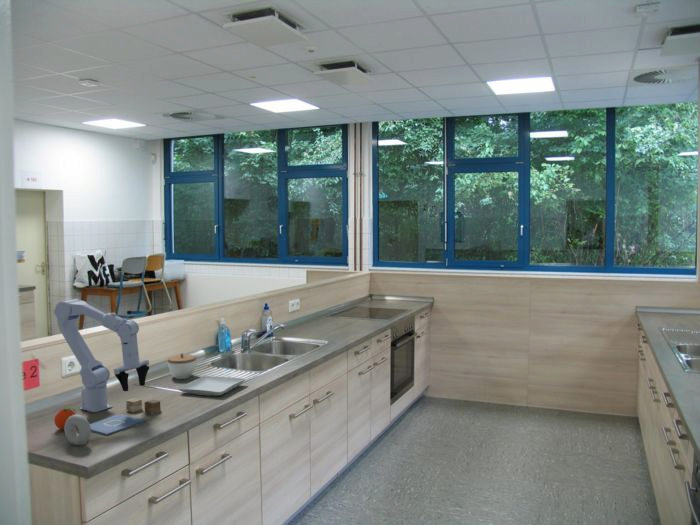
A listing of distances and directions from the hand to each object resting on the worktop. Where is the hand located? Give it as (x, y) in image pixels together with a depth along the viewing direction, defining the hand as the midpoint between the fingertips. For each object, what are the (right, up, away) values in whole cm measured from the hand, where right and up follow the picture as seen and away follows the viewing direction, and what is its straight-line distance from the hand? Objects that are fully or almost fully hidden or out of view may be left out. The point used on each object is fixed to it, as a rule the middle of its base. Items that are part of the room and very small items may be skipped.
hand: (134, 388), depth 221 cm
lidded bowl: (+4, -6, +49) cm, 50 cm away
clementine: (-16, -10, -19) cm, 27 cm away
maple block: (0, -9, +1) cm, 9 cm away
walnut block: (+8, -9, -1) cm, 12 cm away
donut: (-5, -11, -35) cm, 37 cm away
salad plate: (+24, -7, +27) cm, 37 cm away
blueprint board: (-1, -10, -16) cm, 19 cm away
